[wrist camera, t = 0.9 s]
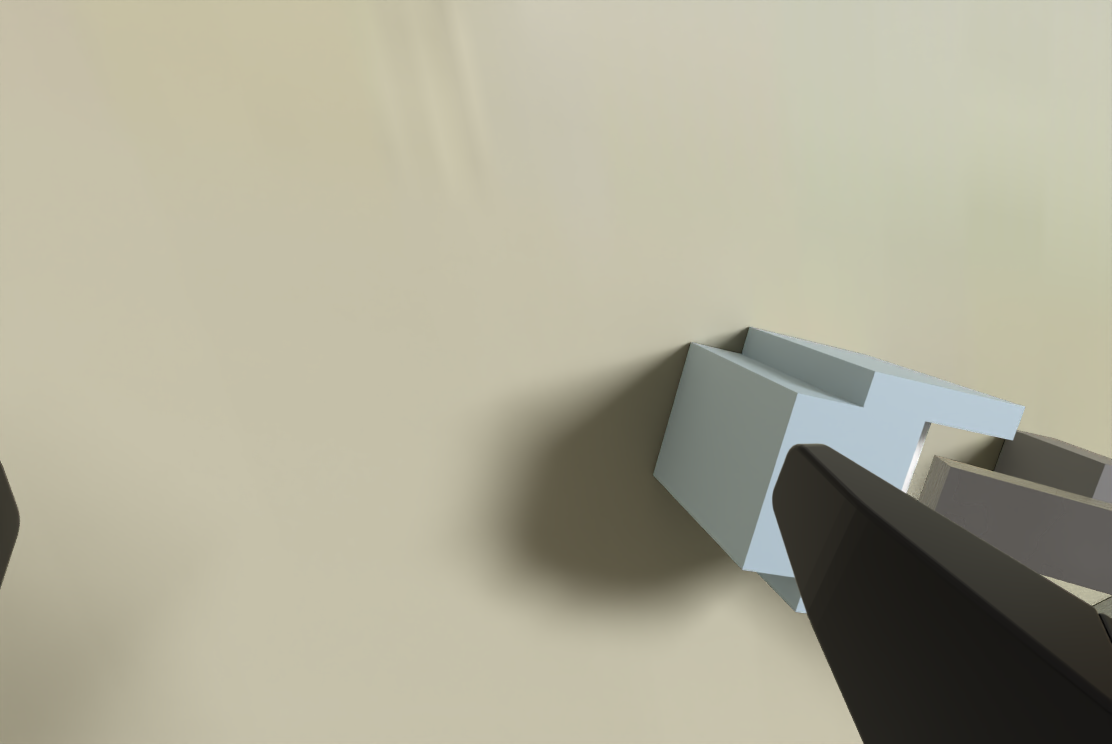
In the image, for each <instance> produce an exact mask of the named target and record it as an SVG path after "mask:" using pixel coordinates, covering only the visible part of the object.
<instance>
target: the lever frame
mask: <svg viewBox="0 0 1112 744" xmlns="http://www.w3.org/2000/svg"><path fill="white" fill-rule="evenodd" d="M1024 409H1025V407H1024V406H1021V405H1018V404H1015V403H1012V402H1009V401H1006V400H1003V399H1000V398H997V397H994V396H991V395H987V394H984V393H981V392H978V391H975V390H972V389H969V388H966V387H963V386H960V385H957V384H954V383H951V382H948V381H945V380H942V379H939V378H936V377H932V376H929V375H926V374H923V373H920V372H917V371H914V370H911V369H908V368H905V367H902V366H899V365H896V364H893V363H890V362H887V361H884V360H881V359H878V358H874V357H871V356H868V355H864V354H860V353H856V352H852V351H848V350H844V349H840V348H835V347H831V346H827V345H823V344H819V343H815V342H811V341H806V340H802V339H798V338H794V337H790V336H786V335H782V334H778V333H773V332H769V331H765V330H761V329H757V328H753V327H749V330H748V334H747V337H746V340H745V344H744V347H743V350H742V354H740V353H736V352H732V351H727V350H723V349H719V348H714V347H710V346H706V345H701V344H697V343H693V342H691V344H690V347H689V351H688V354H687V358H686V361H685V365H684V368H683V372H682V375H681V379H680V382H679V386H678V389H677V393H676V396H675V400H674V403H673V407H672V410H671V414H670V417H669V421H668V424H667V428H666V431H665V435H664V438H663V442H662V445H661V449H660V452H659V456H658V459H657V463H656V466H655V470H654V473H653V476H654V477H655V478H656V479H657V480H658V481H659V482H660V483H661V484H662V485H663V486H664V487H665V488H666V489H667V491H668V492H669V493H670V494H671V495H672V496H673V497H674V498H675V499H676V500H677V501H678V502H679V503H680V504H681V505H682V506H683V508H684V509H685V510H686V511H687V512H688V513H689V514H690V515H691V516H692V517H693V518H694V519H695V520H696V521H697V522H698V523H699V524H700V526H701V527H702V528H703V529H704V530H705V531H706V532H707V533H708V534H709V535H710V536H711V537H712V538H713V539H714V540H715V541H716V543H717V544H718V545H719V546H720V547H721V548H722V549H723V550H724V551H725V552H726V553H727V554H728V555H729V556H730V557H731V558H732V559H733V561H734V562H735V563H736V564H737V565H738V566H739V567H740V568H741V569H742V570H747V571H754V572H757V573H758V574H759V575H760V576H761V577H762V578H763V579H764V580H765V581H766V582H767V583H768V584H769V585H770V586H771V587H772V588H773V589H774V590H775V591H776V592H777V593H778V595H779V596H780V597H781V598H782V599H783V600H784V601H785V602H786V603H787V604H788V605H789V606H790V607H791V608H792V609H793V610H794V611H795V612H800V613H807V612H806V610H805V607H804V604H803V601H802V598H801V595H800V592H799V589H798V586H797V583H796V580H795V577H794V574H793V570H792V567H791V564H790V561H789V558H788V555H787V552H786V549H785V545H784V542H783V539H782V536H781V533H780V530H779V527H778V524H777V520H776V517H775V514H774V511H773V506H772V494H773V489H774V487H775V484H776V481H777V479H778V476H779V473H780V471H781V468H782V466H783V463H784V460H785V458H786V455H787V453H788V451H789V449H790V448H791V447H792V446H793V445H796V444H814V443H819V444H825V445H827V446H829V447H831V448H832V449H834V450H836V451H837V452H839V453H841V454H842V455H844V456H845V457H847V458H849V459H850V460H852V461H854V462H855V463H857V464H859V465H860V466H862V467H864V468H865V469H867V470H869V471H870V472H872V473H874V474H875V475H877V476H878V477H880V478H882V479H883V480H885V481H887V482H888V483H890V484H892V485H893V486H895V487H897V488H898V489H900V490H902V491H903V492H905V493H906V494H907V491H908V488H909V485H910V482H911V479H912V476H913V474H914V471H915V468H916V465H917V462H918V459H919V456H920V454H921V451H922V448H923V445H924V442H925V439H926V436H927V433H928V431H929V428H930V425H931V423H936V424H940V425H945V426H949V427H954V428H958V429H963V430H967V431H972V432H976V433H981V434H986V435H990V436H995V437H999V438H1004V439H1005V442H1004V445H1003V447H1002V450H1001V453H1000V456H999V458H998V461H997V464H996V466H995V469H994V472H998V473H1002V474H1005V475H1009V476H1013V477H1016V478H1020V479H1024V480H1027V481H1031V482H1035V483H1038V484H1042V485H1045V486H1049V487H1053V488H1056V489H1060V490H1064V491H1067V492H1071V493H1075V494H1078V495H1082V496H1085V497H1089V498H1093V499H1096V500H1100V501H1104V502H1107V503H1111V504H1112V459H1110V458H1108V457H1105V456H1102V455H1099V454H1096V453H1094V452H1091V451H1088V450H1085V449H1083V448H1080V447H1077V446H1074V445H1071V444H1069V443H1066V442H1063V441H1060V440H1058V439H1054V438H1050V437H1045V436H1041V435H1036V434H1032V433H1027V432H1023V431H1019V430H1017V428H1018V425H1019V423H1020V420H1021V417H1022V414H1023V412H1024Z"/></svg>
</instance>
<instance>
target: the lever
mask: <svg viewBox="0 0 1112 744" xmlns="http://www.w3.org/2000/svg"><path fill="white" fill-rule="evenodd" d="M919 501H920V502H921V503H923V504H925V505H926V506H928V507H930V508H931V509H933V510H934V511H936V512H938V513H939V514H941V515H943V516H944V517H946V518H948V519H949V520H951V521H953V522H954V523H956V524H958V525H959V526H961V527H962V528H964V529H966V530H967V531H969V532H971V533H972V534H974V535H976V536H977V537H979V538H981V539H982V540H984V541H986V542H987V543H989V544H991V545H992V546H994V547H995V548H997V549H999V550H1000V551H1002V552H1004V553H1005V554H1007V555H1009V556H1010V557H1012V558H1014V559H1015V560H1017V561H1019V562H1020V563H1022V564H1024V565H1025V566H1027V567H1028V568H1030V569H1032V570H1033V571H1035V572H1037V573H1038V574H1041V575H1045V576H1048V577H1052V578H1055V579H1058V580H1062V581H1065V582H1069V583H1072V584H1076V585H1079V586H1083V587H1086V588H1090V589H1093V590H1097V591H1100V592H1103V593H1107V594H1110V595H1112V504H1111V503H1107V502H1104V501H1100V500H1096V499H1093V498H1089V497H1085V496H1082V495H1078V494H1075V493H1071V492H1067V491H1064V490H1060V489H1056V488H1053V487H1049V486H1045V485H1042V484H1038V483H1035V482H1031V481H1027V480H1024V479H1020V478H1016V477H1013V476H1009V475H1005V474H1002V473H998V472H994V471H991V470H987V469H984V468H980V467H976V466H973V465H969V464H965V463H962V462H958V461H954V460H951V459H947V458H944V457H940V456H936V455H935V456H934V458H933V461H932V464H931V467H930V470H929V473H928V475H927V478H926V481H925V484H924V487H923V490H922V492H921V495H920V498H919Z"/></svg>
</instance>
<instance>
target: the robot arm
mask: <svg viewBox="0 0 1112 744" xmlns="http://www.w3.org/2000/svg"><path fill="white" fill-rule="evenodd" d="M772 506H773V511H774V514H775V517H776V520H777V524H778V527H779V530H780V533H781V536H782V539H783V542H784V545H785V549H786V552H787V555H788V558H789V561H790V564H791V567H792V570H793V574H794V577H795V580H796V583H797V586H798V589H799V592H800V595H801V598H802V601H803V604H804V607H805V610H806V612H807V615H808V617H809V620H810V622H811V625H812V627H813V630H814V632H815V634H816V637H817V639H818V641H819V643H820V646H821V648H822V650H823V652H824V655H825V657H826V659H827V662H828V664H829V666H830V668H831V671H832V673H833V675H834V677H835V680H836V682H837V684H838V687H839V689H840V691H841V693H842V696H843V698H844V700H845V702H846V705H847V707H848V709H849V712H850V714H851V716H852V718H853V721H854V723H855V725H856V727H857V730H858V732H859V734H860V737H861V739H862V741H863V743H864V744H1112V618H1111V617H1110V616H1108V615H1106V614H1104V613H1098V612H1097V610H1096V608H1094V607H1093V606H1091V605H1089V604H1088V603H1086V602H1085V601H1083V600H1081V599H1080V598H1078V597H1076V596H1075V595H1073V594H1071V593H1070V592H1068V591H1066V590H1065V589H1063V588H1061V587H1060V586H1058V585H1056V584H1055V583H1053V582H1052V581H1050V580H1048V579H1047V578H1045V577H1043V576H1042V575H1040V574H1038V573H1037V572H1035V571H1033V570H1032V569H1030V568H1028V567H1027V566H1025V565H1024V564H1022V563H1020V562H1019V561H1017V560H1015V559H1014V558H1012V557H1010V556H1009V555H1007V554H1005V553H1004V552H1002V551H1000V550H999V549H997V548H995V547H994V546H992V545H991V544H989V543H987V542H986V541H984V540H982V539H981V538H979V537H977V536H976V535H974V534H972V533H971V532H969V531H967V530H966V529H964V528H962V527H961V526H959V525H958V524H956V523H954V522H953V521H951V520H949V519H948V518H946V517H944V516H943V515H941V514H939V513H938V512H936V511H934V510H933V509H931V508H930V507H928V506H926V505H925V504H923V503H921V502H920V501H918V500H916V499H915V498H913V497H911V496H910V495H908V494H906V493H905V492H903V491H902V490H900V489H898V488H897V487H895V486H893V485H892V484H890V483H888V482H887V481H885V480H883V479H882V478H880V477H878V476H877V475H875V474H874V473H872V472H870V471H869V470H867V469H865V468H864V467H862V466H860V465H859V464H857V463H855V462H854V461H852V460H850V459H849V458H847V457H845V456H844V455H842V454H841V453H839V452H837V451H836V450H834V449H832V448H831V447H829V446H827V445H825V444H819V443H814V444H796V445H793V446H792V447H791V448H790V449H789V451H788V453H787V455H786V458H785V460H784V463H783V466H782V468H781V471H780V473H779V476H778V479H777V481H776V484H775V487H774V489H773V494H772ZM19 526H20V516H19V511H18V507H17V504H16V502H15V499H14V496H13V493H12V490H11V488H10V485H9V482H8V479H7V476H6V474H5V471H4V468H3V465H2V463H1V461H0V588H1V585H2V582H3V579H4V576H5V573H6V570H7V567H8V564H9V561H10V558H11V555H12V551H13V548H14V545H15V542H16V539H17V536H18V532H19Z"/></svg>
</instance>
